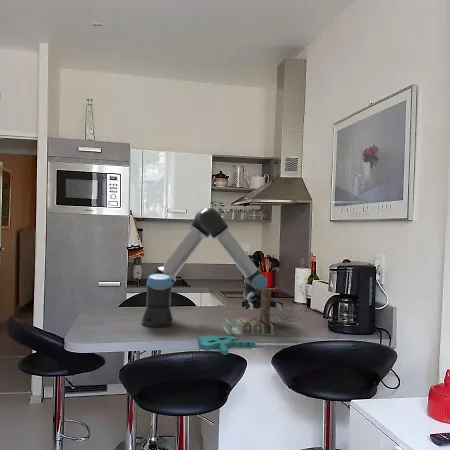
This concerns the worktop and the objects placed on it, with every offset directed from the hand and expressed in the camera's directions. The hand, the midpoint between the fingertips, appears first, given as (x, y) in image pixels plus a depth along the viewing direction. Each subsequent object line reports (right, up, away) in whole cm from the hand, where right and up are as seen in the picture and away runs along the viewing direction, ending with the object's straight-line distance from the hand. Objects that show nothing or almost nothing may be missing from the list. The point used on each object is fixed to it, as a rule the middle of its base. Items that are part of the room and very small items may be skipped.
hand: (266, 307), depth 216 cm
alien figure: (-21, -12, -25) cm, 35 cm away
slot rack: (-9, -11, -1) cm, 14 cm away
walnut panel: (-1, -11, 0) cm, 11 cm away
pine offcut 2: (-6, -11, 0) cm, 12 cm away
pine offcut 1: (-10, -10, -1) cm, 15 cm away
